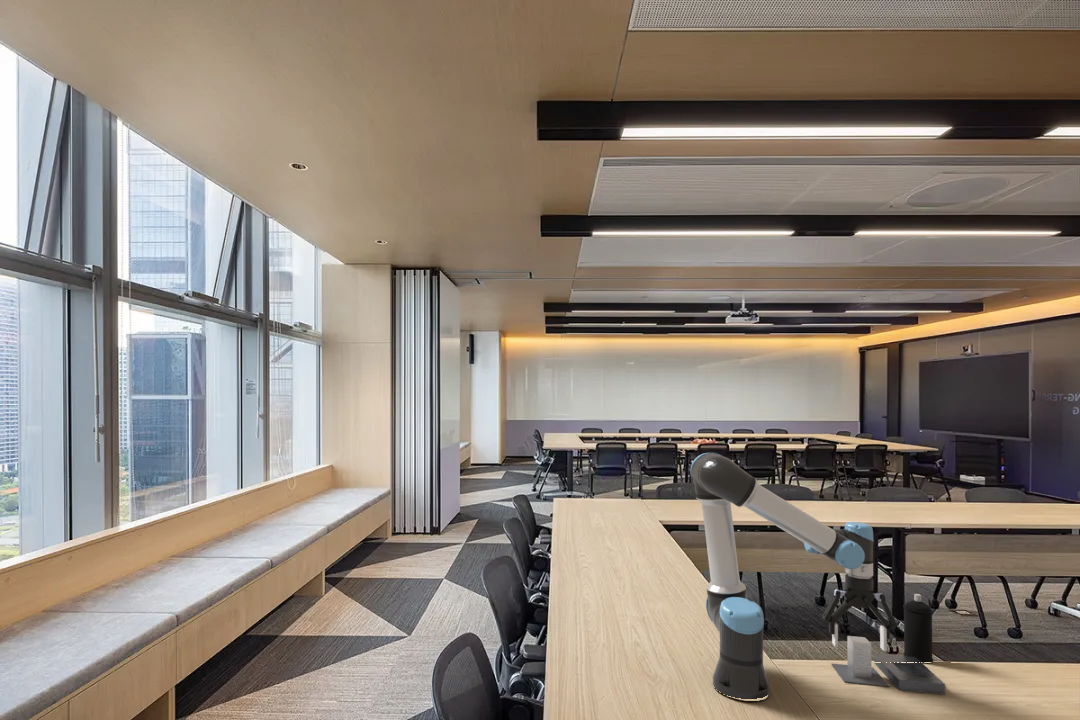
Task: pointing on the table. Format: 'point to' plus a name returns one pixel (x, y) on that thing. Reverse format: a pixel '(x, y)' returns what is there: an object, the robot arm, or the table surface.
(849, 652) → the rectangular peg block
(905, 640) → the aerosol can
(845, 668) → the rubber pad
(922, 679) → the square hole plate
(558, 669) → the table surface
